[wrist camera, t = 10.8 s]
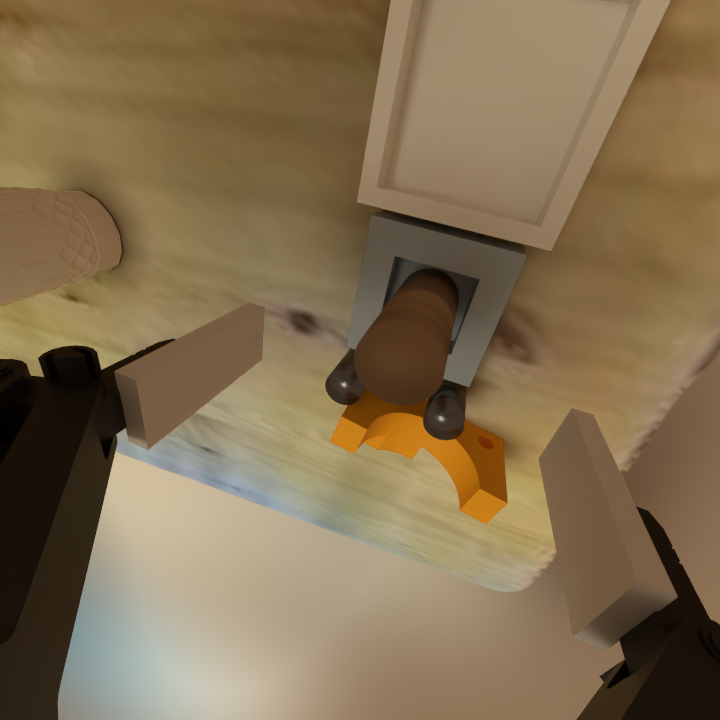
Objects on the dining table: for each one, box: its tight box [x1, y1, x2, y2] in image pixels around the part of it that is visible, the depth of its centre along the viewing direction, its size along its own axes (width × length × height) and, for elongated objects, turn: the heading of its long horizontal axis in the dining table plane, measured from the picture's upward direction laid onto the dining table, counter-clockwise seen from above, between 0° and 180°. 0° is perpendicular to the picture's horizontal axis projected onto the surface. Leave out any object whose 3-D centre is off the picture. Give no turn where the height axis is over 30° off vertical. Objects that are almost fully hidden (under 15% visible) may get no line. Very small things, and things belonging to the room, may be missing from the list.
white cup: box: [0, 187, 122, 306], centre depth 26 cm, size 8×8×10 cm
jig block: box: [346, 212, 528, 387], centre depth 23 cm, size 9×9×2 cm
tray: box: [357, 0, 671, 251], centre depth 17 cm, size 11×11×3 cm
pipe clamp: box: [330, 388, 508, 524], centre depth 26 cm, size 12×4×6 cm, turn 69°
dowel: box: [354, 268, 459, 405], centre depth 19 cm, size 4×4×10 cm
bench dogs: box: [325, 348, 467, 440], centre depth 25 cm, size 3×10×5 cm, turn 79°
